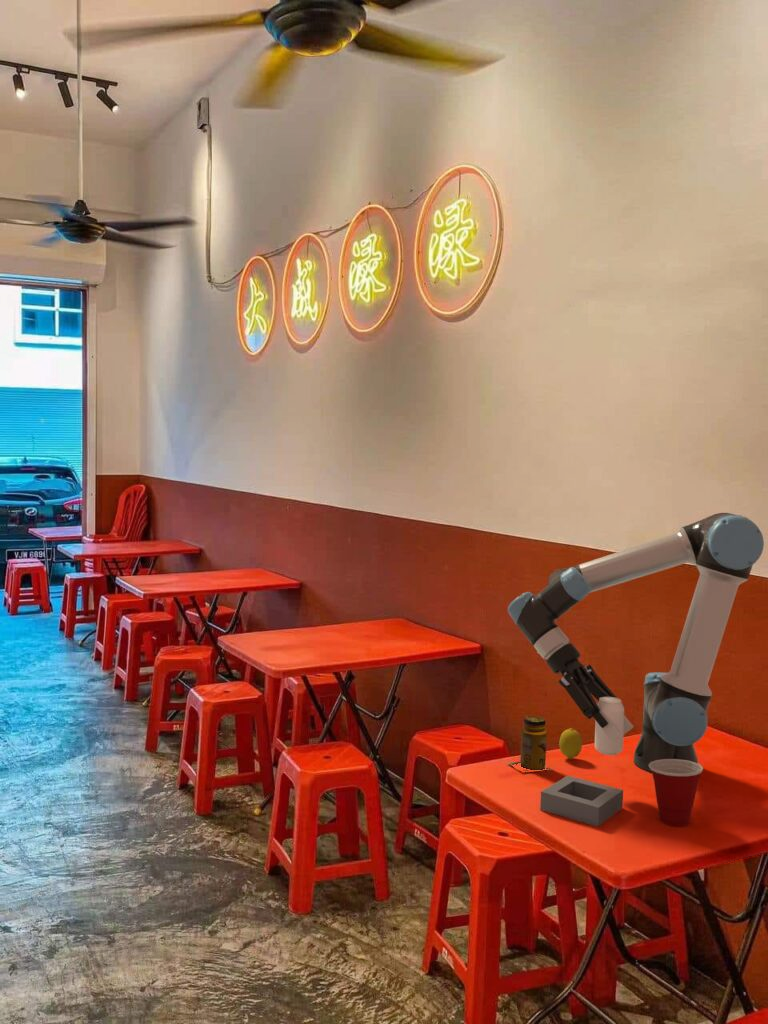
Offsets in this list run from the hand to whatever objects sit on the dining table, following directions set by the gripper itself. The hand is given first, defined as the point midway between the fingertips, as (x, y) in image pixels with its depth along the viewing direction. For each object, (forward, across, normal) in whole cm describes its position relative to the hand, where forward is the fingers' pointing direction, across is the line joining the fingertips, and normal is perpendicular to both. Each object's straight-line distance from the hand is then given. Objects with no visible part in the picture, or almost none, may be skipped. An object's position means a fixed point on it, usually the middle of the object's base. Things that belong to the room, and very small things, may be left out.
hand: (622, 733), depth 195 cm
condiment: (-7, -3, -27) cm, 28 cm away
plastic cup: (+20, +6, -1) cm, 21 cm away
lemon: (-4, -15, -24) cm, 28 cm away
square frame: (+7, +13, -12) cm, 19 cm away
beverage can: (+1, 0, -6) cm, 6 cm away
